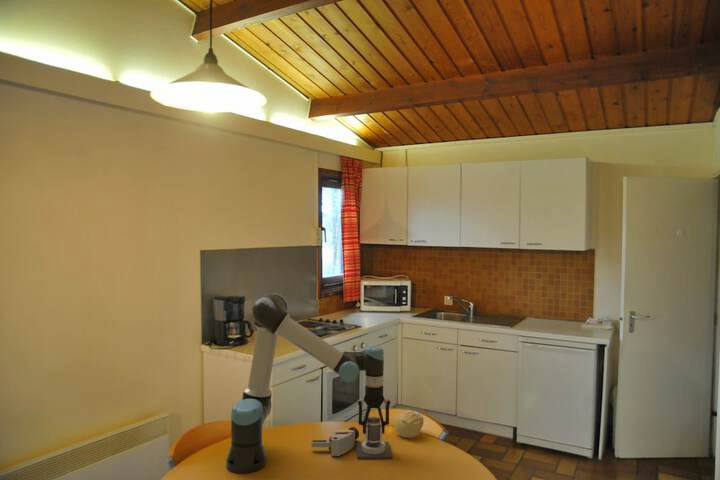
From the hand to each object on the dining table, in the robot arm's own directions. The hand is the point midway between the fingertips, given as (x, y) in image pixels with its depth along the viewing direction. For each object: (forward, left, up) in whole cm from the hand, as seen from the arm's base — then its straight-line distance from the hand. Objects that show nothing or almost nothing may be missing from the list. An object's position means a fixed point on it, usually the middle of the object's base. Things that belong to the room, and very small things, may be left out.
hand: (373, 441), depth 204 cm
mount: (0, 0, -4) cm, 4 cm away
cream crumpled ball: (+17, +16, -4) cm, 24 cm away
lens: (0, 0, -1) cm, 1 cm away
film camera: (-16, +5, -5) cm, 17 cm away
